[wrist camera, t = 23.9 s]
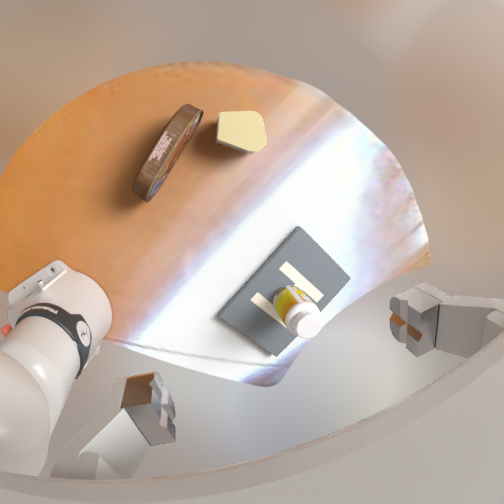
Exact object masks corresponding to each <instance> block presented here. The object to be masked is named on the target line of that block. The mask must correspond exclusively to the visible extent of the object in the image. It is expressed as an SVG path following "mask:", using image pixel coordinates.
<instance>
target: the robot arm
mask: <svg viewBox="0 0 504 504" xmlns="http://www.w3.org/2000/svg"><path fill="white" fill-rule="evenodd" d="M52 268H53V269H54V272H53V271H52ZM8 303H9V308H8V311H7V318H8V322H9V324H8V325H6V326H4V327H3V328H2V329H1V332H2V333H3V334H4V336H5V338H4V339H3V341H2V342H1V343H0V504H504V299H494V298H481V297H467V296H453V297H451V296H449V295H448V294H446V293H444V292H442V291H440V290H438V289H436V288H435V287H433V286H431V285H429V284H427V283H421V284H419V285H417V286H415V287H413V288H412V289H409V290H407V291H405V292H403V293H401V294H399V295H396V296H394V297H392V298H391V299H390V310H391V311H392V312H393V314H392V316H391V318H390V329H391V332H392V334H393V336H394V337H395V339H397V340H398V341H399V342H402V343H406V348H407V349H408V350H409V351H410V352H411V353H413V354H414V355H415V356H416V357H419V356H421V355H423V354H425V353H427V352H428V351H430V350H432V349H434V348H435V349H437V350H441V351H444V352H448V353H451V354H455V355H458V356H462V357H465V358H468V359H467V360H465V361H464V362H463V363H461V364H460V365H458V366H457V367H455V368H454V369H452V370H451V371H449V372H448V373H447V374H445V375H443V376H442V377H440V378H439V379H437V380H435V381H434V382H432V383H431V384H429V385H427V386H426V387H424V388H422V389H421V390H419V391H417V392H415V393H414V394H412V395H410V396H409V397H407V398H405V399H403V400H401V401H399V402H397V403H396V404H394V405H392V406H390V407H388V408H386V409H384V410H382V411H380V412H378V413H376V414H374V415H372V416H370V417H368V418H366V419H363V420H361V421H359V422H357V423H355V424H352V425H350V426H348V427H345V428H343V429H341V430H338V431H336V432H333V433H331V434H328V435H326V436H323V437H321V438H318V439H316V440H313V441H310V442H307V443H304V444H302V445H299V446H296V447H293V448H290V449H287V450H283V451H280V452H277V453H274V454H271V455H267V456H263V457H260V458H256V459H253V460H248V461H244V462H240V463H236V464H232V465H227V466H223V467H219V468H213V469H208V470H202V471H196V472H190V473H184V474H176V475H169V476H161V477H150V478H137V479H132V477H133V476H134V474H135V472H136V471H137V469H138V468H139V466H140V465H141V463H142V461H143V460H144V458H145V457H146V455H147V454H148V452H149V450H150V449H151V446H154V445H160V444H166V443H171V442H175V426H174V424H173V422H172V421H173V420H174V418H175V407H174V403H173V400H172V398H171V395H170V393H169V392H168V391H167V390H166V389H164V388H163V380H162V378H161V376H160V374H159V373H158V372H152V373H146V374H141V375H135V376H130V377H124V378H119V379H116V380H114V382H113V385H112V388H111V392H110V395H109V399H108V402H107V406H106V409H105V411H101V412H100V413H99V414H98V415H97V416H96V417H95V418H94V419H92V421H90V422H89V423H88V424H87V425H86V426H85V427H84V428H83V429H82V430H81V431H80V432H79V433H78V434H76V435H75V436H74V437H73V438H72V439H71V440H70V441H69V442H68V443H67V444H66V445H65V446H64V447H63V448H62V449H60V450H59V451H58V453H57V456H56V459H55V462H54V466H53V469H52V472H51V475H50V477H41V476H39V474H40V472H41V470H42V467H43V465H44V463H45V461H46V458H47V454H48V448H49V439H50V436H51V434H52V431H53V429H54V426H55V424H56V422H57V420H58V417H59V415H60V413H61V411H62V408H63V406H64V403H65V401H66V399H67V396H68V394H69V392H70V389H71V387H72V384H73V383H74V380H75V379H77V378H78V376H79V375H80V374H81V372H82V371H83V369H84V368H85V367H86V365H87V364H88V362H89V361H90V359H91V358H92V356H94V355H97V354H98V353H99V351H100V349H101V342H102V340H103V338H104V337H105V335H106V334H107V333H108V331H109V329H110V326H111V322H112V311H111V306H110V303H109V300H108V298H107V296H106V294H105V293H104V291H103V290H102V289H101V287H100V286H99V285H98V284H97V283H96V282H95V281H93V280H92V279H91V278H89V277H88V276H86V275H84V274H82V273H79V272H76V271H74V270H72V269H70V268H69V267H68V266H67V265H66V264H65V263H64V262H62V261H61V260H54V261H53V262H51V263H50V264H48V265H47V266H45V267H44V268H42V269H41V270H39V271H38V272H36V273H35V274H33V275H32V276H30V277H29V278H27V279H26V280H24V281H23V282H22V283H20V284H19V285H17V286H16V287H14V288H13V289H12V290H11V291H10V292H9V293H8Z"/></svg>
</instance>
